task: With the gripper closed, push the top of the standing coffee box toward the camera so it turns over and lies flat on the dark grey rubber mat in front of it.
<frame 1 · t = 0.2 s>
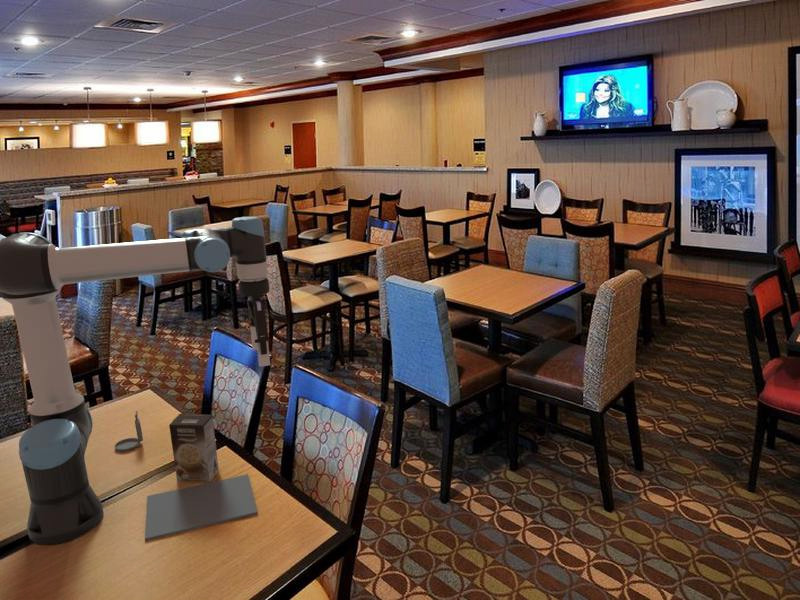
hand: (261, 357, 158), 28 cm above the table, tool pointing down, fingers open, 13 cm apart
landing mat: (201, 505, 142), on the table
coffee box: (198, 476, 155), on the table
pocket watch: (132, 446, 172), on the table
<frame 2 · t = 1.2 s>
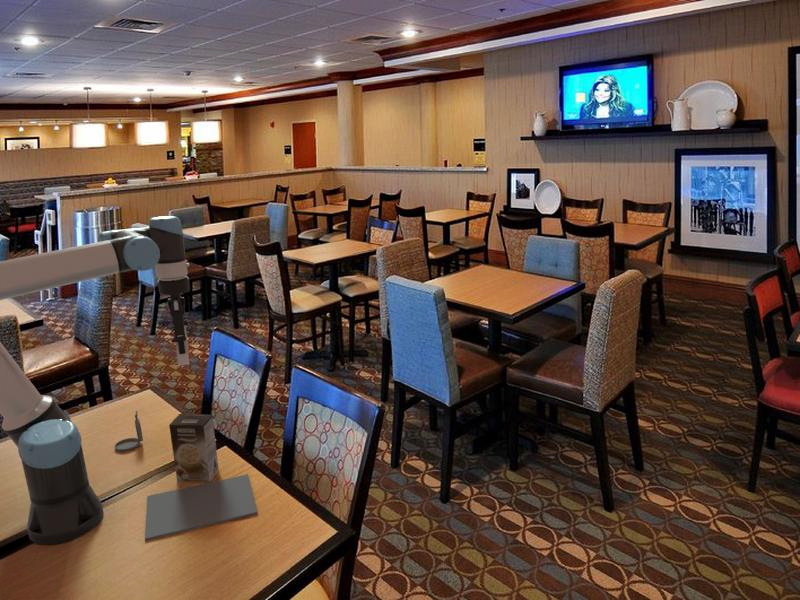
hand: (183, 356, 159), 28 cm above the table, tool pointing down, fingers open, 12 cm apart
nothing on the table moved.
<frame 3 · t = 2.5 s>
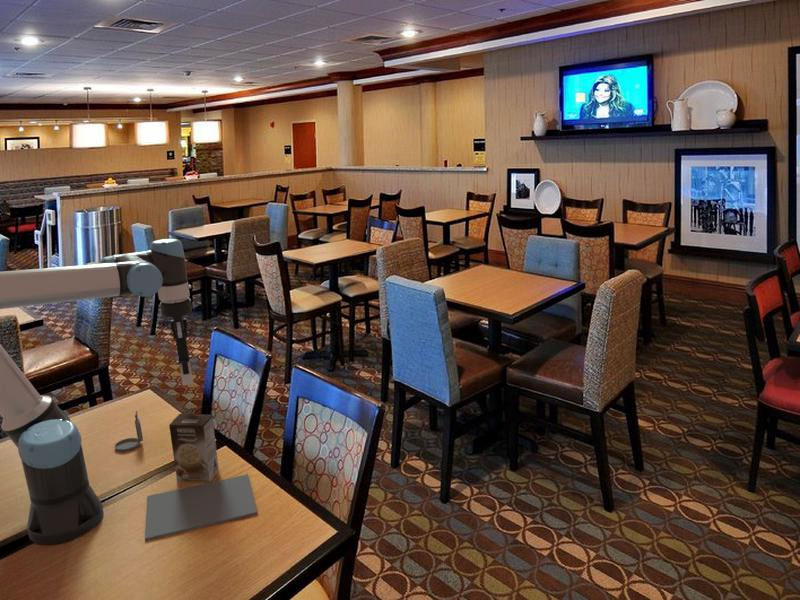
hand: (187, 383, 161), 20 cm above the table, tool pointing down, fingers closed
nothing on the table moved.
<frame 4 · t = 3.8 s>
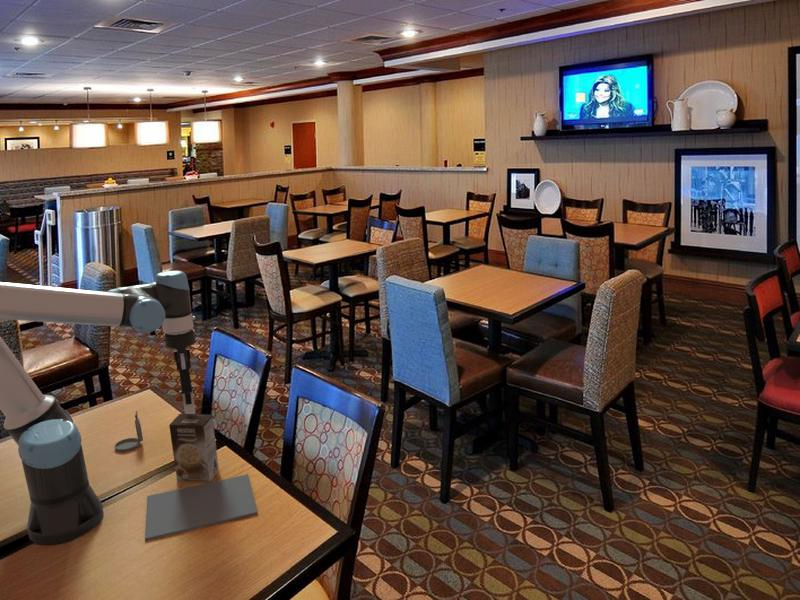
hand: (190, 413, 162), 12 cm above the table, tool pointing down, fingers closed
nothing on the table moved.
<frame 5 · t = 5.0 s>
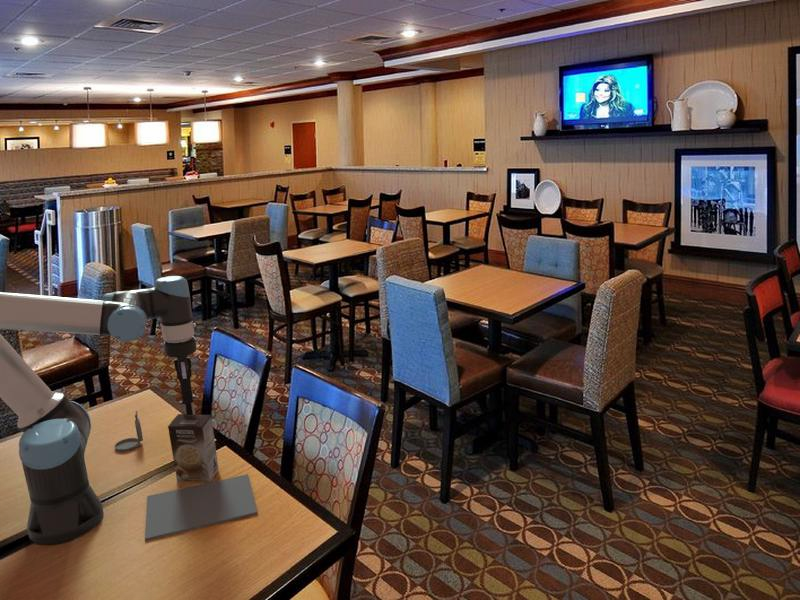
hand: (191, 424, 156), 12 cm above the table, tool pointing down, fingers closed
nothing on the table moved.
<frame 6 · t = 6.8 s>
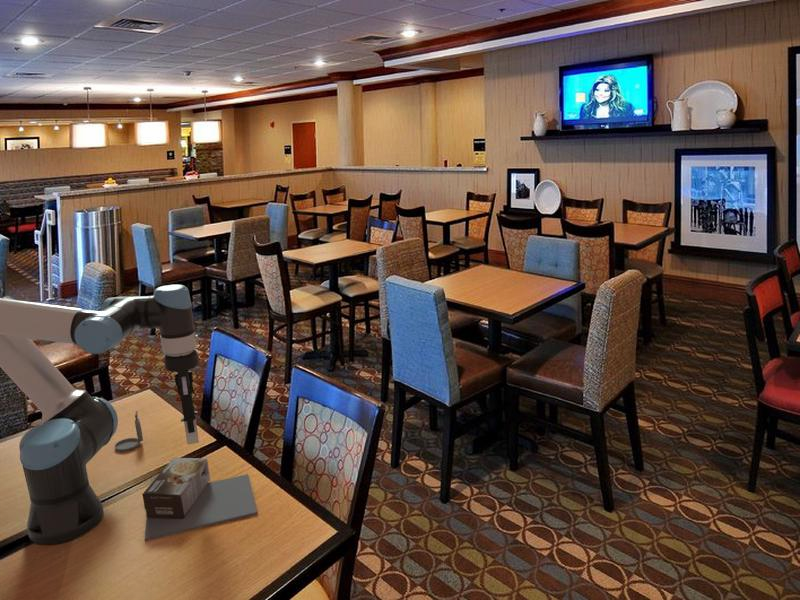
hand: (193, 442, 146), 12 cm above the table, tool pointing down, fingers closed
coffee box: (192, 468, 151), point 4 cm above the table, touching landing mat
everything else where it was.
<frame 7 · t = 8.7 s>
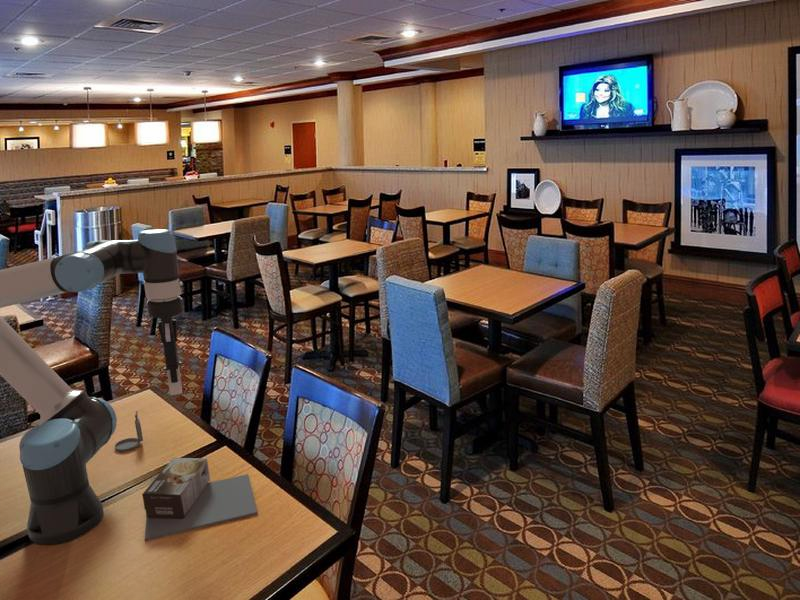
hand: (176, 393, 143), 25 cm above the table, tool pointing down, fingers closed
nothing on the table moved.
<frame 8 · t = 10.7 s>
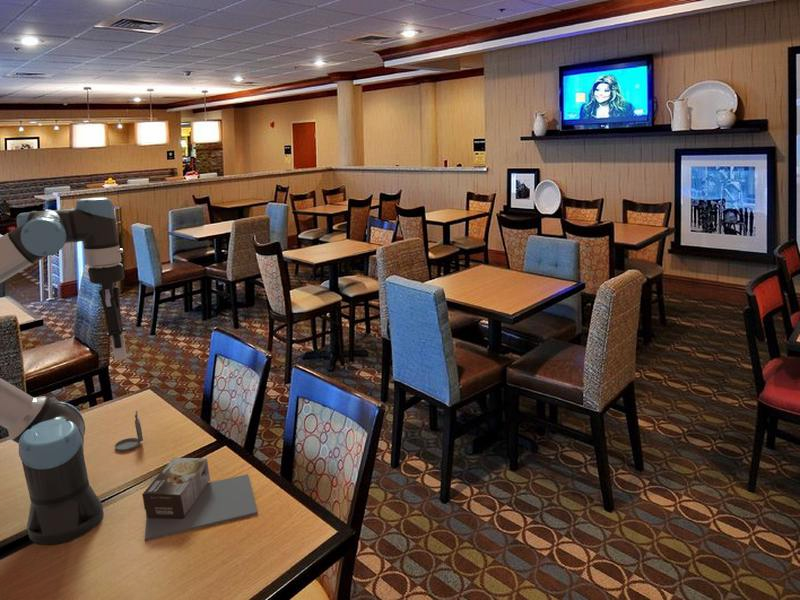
hand: (120, 358, 147), 32 cm above the table, tool pointing down, fingers closed
nothing on the table moved.
at the end: coffee box tilted 90°; coffee box touching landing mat; coffee box inside the target area (3.7 cm from its centre), point 3.8 cm above the table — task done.
